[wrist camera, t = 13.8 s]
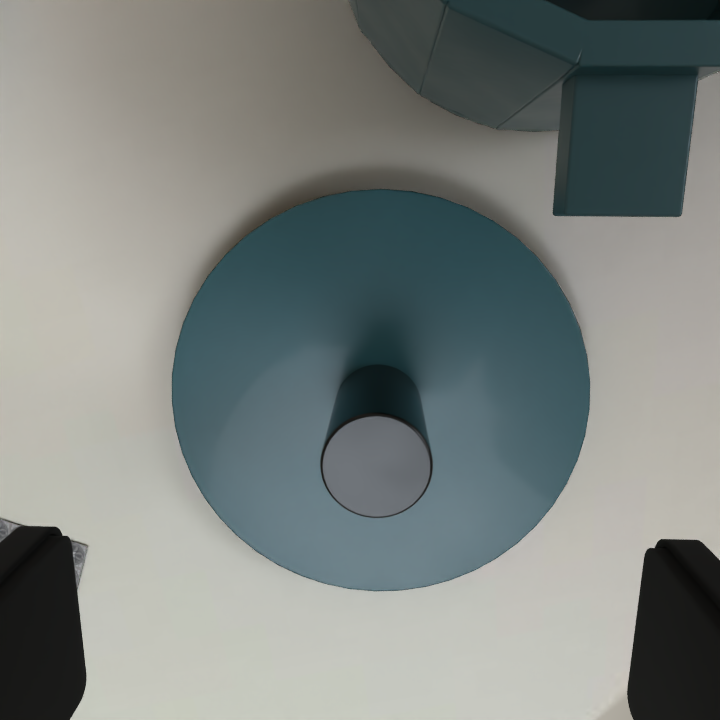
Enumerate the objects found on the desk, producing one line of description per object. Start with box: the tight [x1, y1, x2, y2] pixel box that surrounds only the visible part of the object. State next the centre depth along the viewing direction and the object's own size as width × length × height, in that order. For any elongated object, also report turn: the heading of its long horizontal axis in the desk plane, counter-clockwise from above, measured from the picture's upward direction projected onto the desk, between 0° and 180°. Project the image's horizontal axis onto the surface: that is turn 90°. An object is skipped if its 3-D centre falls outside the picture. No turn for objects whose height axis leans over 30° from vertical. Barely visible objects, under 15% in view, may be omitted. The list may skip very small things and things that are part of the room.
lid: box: [172, 189, 590, 591], centre depth 20 cm, size 15×15×7 cm
